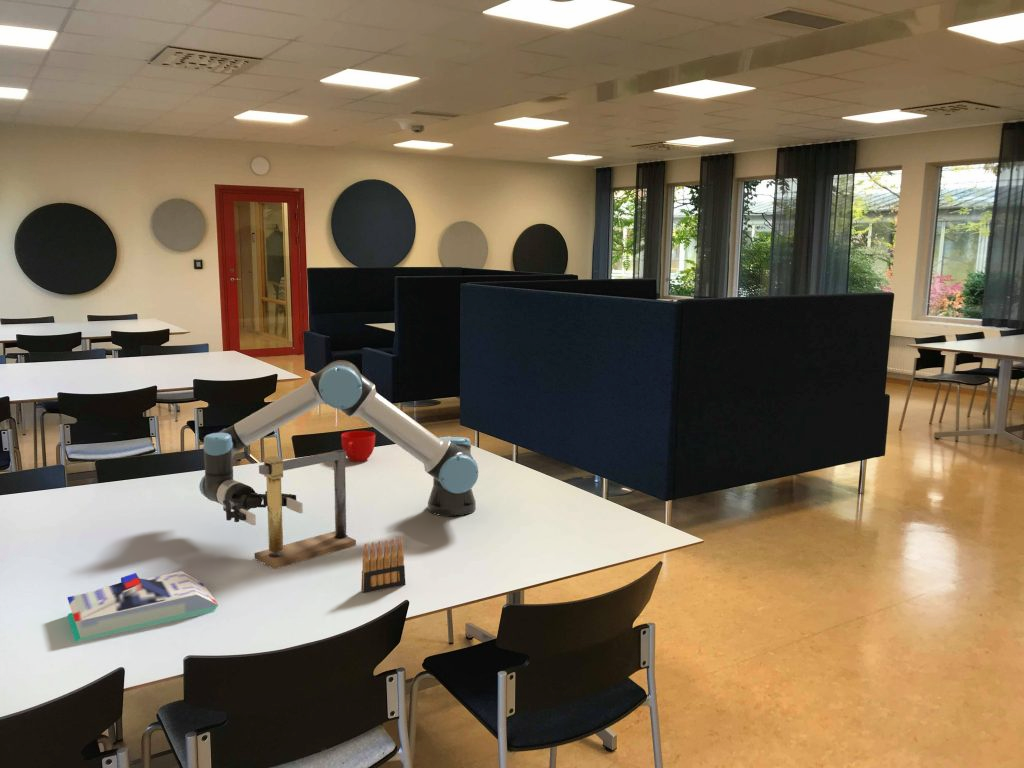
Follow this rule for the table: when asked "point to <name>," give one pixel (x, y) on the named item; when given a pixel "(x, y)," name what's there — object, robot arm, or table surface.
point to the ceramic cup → (358, 445)
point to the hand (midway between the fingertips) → (278, 514)
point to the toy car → (138, 604)
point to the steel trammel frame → (339, 481)
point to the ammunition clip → (383, 567)
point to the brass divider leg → (274, 503)
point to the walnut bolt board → (304, 550)
